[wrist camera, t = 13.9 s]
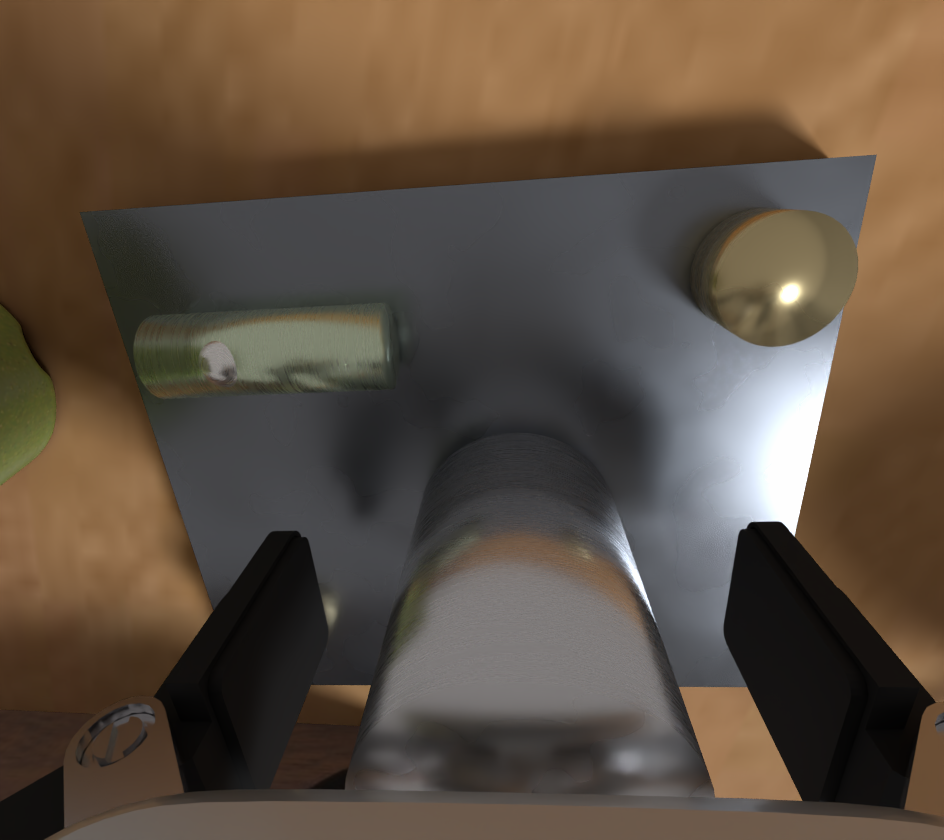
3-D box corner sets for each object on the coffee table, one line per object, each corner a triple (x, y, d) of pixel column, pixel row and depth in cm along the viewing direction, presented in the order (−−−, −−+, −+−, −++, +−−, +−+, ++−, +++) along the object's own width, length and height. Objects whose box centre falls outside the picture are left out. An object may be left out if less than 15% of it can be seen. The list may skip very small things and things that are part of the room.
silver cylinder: (440, 412, 12) (361, 674, 6) (642, 457, 13) (799, 764, 6) (406, 574, 14) (318, 909, 8) (581, 611, 15) (645, 973, 8)
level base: (831, 159, 11) (958, 146, 8) (740, 646, 17) (795, 752, 14) (126, 210, 12) (-2, 216, 9) (258, 647, 18) (206, 743, 15)
